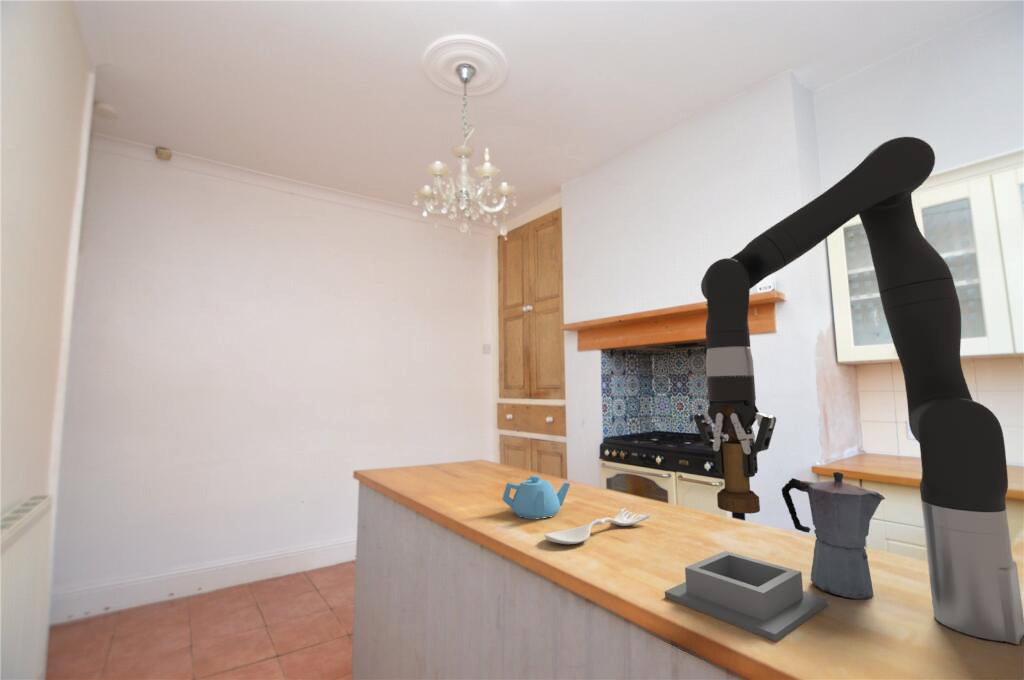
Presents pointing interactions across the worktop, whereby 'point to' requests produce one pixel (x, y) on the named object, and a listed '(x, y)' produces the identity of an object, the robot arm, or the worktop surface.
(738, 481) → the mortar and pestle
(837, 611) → the worktop surface
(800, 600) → the socket board
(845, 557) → the moka pot
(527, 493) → the teapot
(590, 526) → the white spork utensil
